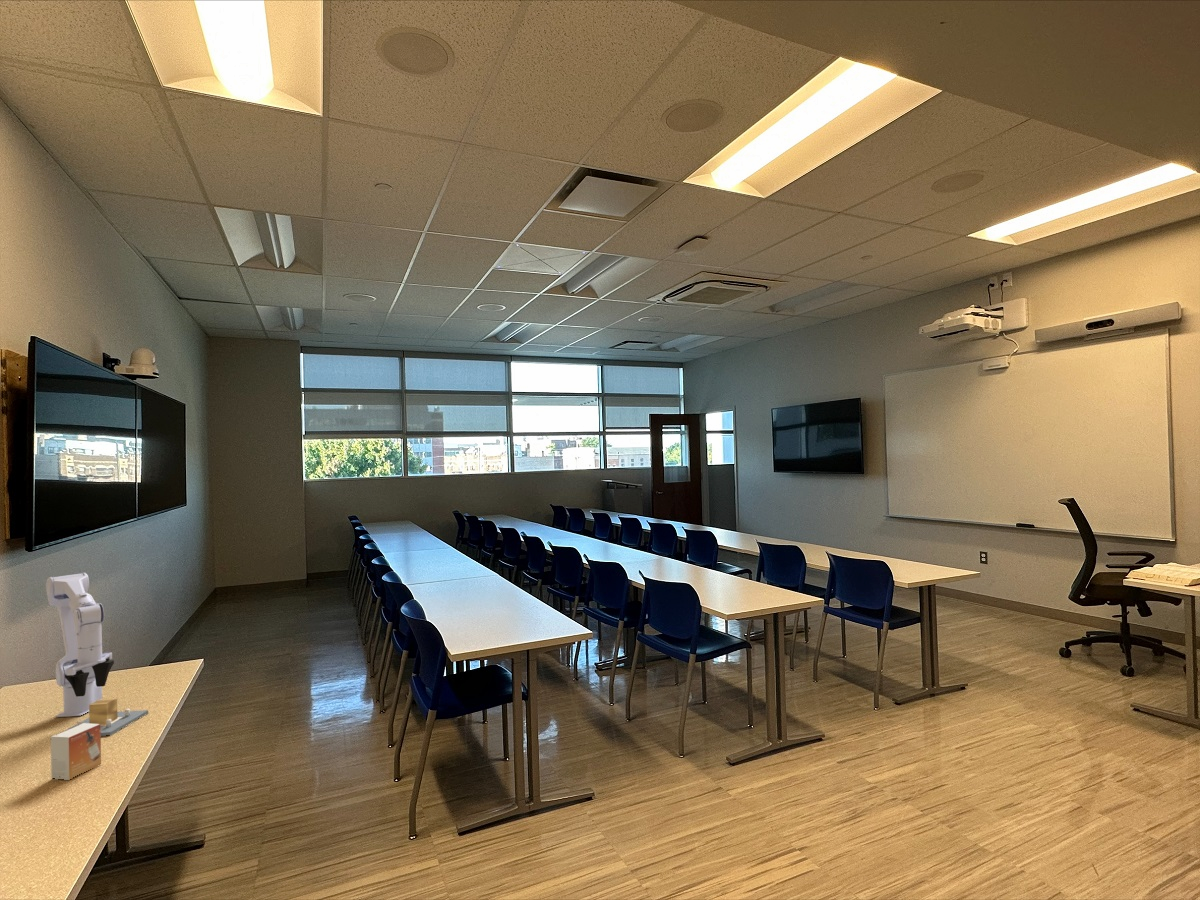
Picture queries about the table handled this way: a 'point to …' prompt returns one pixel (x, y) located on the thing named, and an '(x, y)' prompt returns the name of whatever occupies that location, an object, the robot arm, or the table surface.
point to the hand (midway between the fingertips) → (90, 690)
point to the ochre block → (103, 711)
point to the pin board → (117, 721)
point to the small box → (75, 751)
